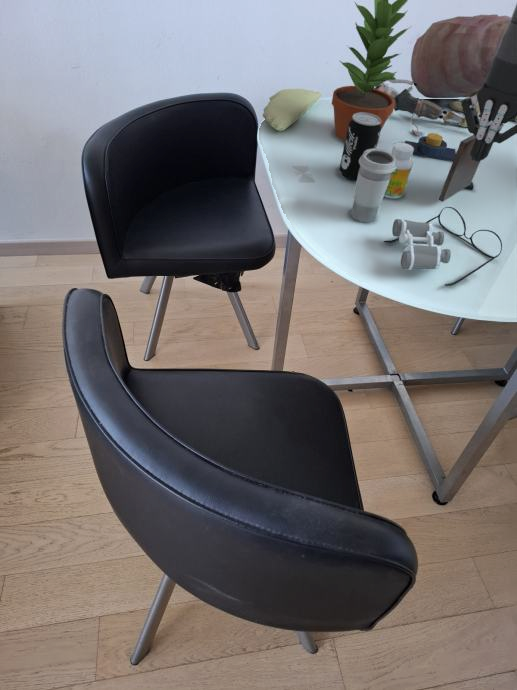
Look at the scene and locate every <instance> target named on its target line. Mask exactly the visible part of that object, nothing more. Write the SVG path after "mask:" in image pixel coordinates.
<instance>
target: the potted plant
mask: <svg viewBox="0 0 517 690" xmlns="http://www.w3.org/2000/svg"><path fill="white" fill-rule="evenodd" d="M353 1H354V0H353ZM407 2H408V0H395V1H393V3H390V2H389V0H374V2H373V4H374V16H373V14H372V13H371V11H370V10H369V9H368V8H366V7H365V6H363V5H359V4H358V3H357V2H356V1H354V4H355V6H356V8H357V10H358V11H359V13H360V15H361V16H362V17H363V19H364V20H363V26H361V25H359V24H358V23H357V22H356V21H355V29H356V31H357V33H358V35H359V36H358V37H360V40H361V42H362V45H363V46H364V49H365V51H366V58H365V57H364V56H363V55H362V54H361V53H360V52H359V51H358V50H357V49H356V48H354V47H352V46H347V48H348V49H349V50H350V51H351V52H352V54H353V55H354V56H355V57H356V58H357V60H358V61H359V62H360V63H361V64H362V65H363V67H364V68H365V69H366V71H365V72H364V71H363V70H362V69H361V68H359V67H358V66H356V65H355V64H354V63H351V62H348V61H347V62H344V61H342V60H339V62H340V63H341V65H342V66H343V67H345V68H346V69H347V72H348V74H349V76H350V77H349V78H350V79H351V81H352V84H353V85H346V86H345V85H344V86H340V87H337V88H336V89H334V91H333V93H332V98H331V105H332V106H333V121H334V135H335V136H336V138H337V139H339V140H341V141H343V142H345V139H346V135H347V130H348V125H349V122H350V121H351V120H352V117H353V115H354V114H356V113H361V112H363V113H370V114H374V115H376V116H378V117H379V118H380V119H381V123H380V125H381V130H382V129H383V127H384V126H385V124H386V122H387V120H388V118H389V116H391V115H392V114H393V112H394V106H395V100H394V99H393V98H392V96H390V95H388V94H387V93H385V92H382V91H380V90H377V89H374V88H375V87H376V86H377V85H379V84H381V83H385V82H387V81H388V82H389V81H390V80H395V79H397V78H396V77H395V76H396V73H398V71H395V72H391V71H385V70H387V69H389V68H392V67H393V65H392V64H390V63H391V62H392V60H391V59H394V58H396V57H397V56H399V55H401V53H394V54H392V55H388V56H385V55H387V53H388V49H389V48H390V47H391V46H392V45H393V44H394V43H395V42H396V41H397V40H398V39H399V38H400V37H401V36H402V35H404V34H405V33H406V32H407V31H408V30H409V29H410V28H412V26H413V25H411V26H409V27H407V28H404V29H403V30H400V31H399V32H397V33H395V34H394V35H391V34H392V33H393V32H394V30H395V29H394V28H393V27H395V26H396V24H398V22H400V21H401V20H402V19H403V18H404V17H405V16H406V14H407V12H409V9H407V10H406V11H404V12H399V11H400V10H401V9H402V8H403V6H404V5H406V3H407Z"/></svg>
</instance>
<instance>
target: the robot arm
mask: <svg viewBox="0 0 517 690" xmlns="http://www.w3.org/2000/svg"><path fill="white" fill-rule="evenodd" d="M510 17H511V20H510V22H509V24H508V26H507V28H506V30H505V32H504V34H503V36H502V38H501V41H500V44H499V46H498V49H497V51H496V54H495V57H494V59H493V62H492V64H491V67H490V70H489V72H488V75H487V77H486V80H485V83H484V85H483V87H482V88H481V89H480V90H479V91H478V93H477V95H474V96H469V97H465V98H464V99H463V100H461V101H462V102H461V104H462V108H463V112H462V113H463V116H464V117H465V119H466V123H467V127H466V128H467V130H468V132H469V133H470V134H472V135H475V136H476V140H475V143H474V145H473V148H472V150H471V156H472V160H474V161H477V162H480V163H481V161H484V160H485V159H486V158H487V157H488V156H489V154H490V152H491V149H492V147H493V144H494V143H497V144H502V143H503V142H505V141H507V140H509V139H510V138H512V137H513V136H515V135H517V120H516V121H515V125H513V126H511V127H510V128H509V129H507V130H505V131H504V132H501V130H502V128H503V127H504V125H505V124H507V123H508V122H510V121H511V120H513V119H515V118H516V116H517V3H516V4H515V7H514V10H513V12H512V15H511V16H510ZM478 104H479V109H480V113H481V115H480V116H481V117H482V118H481V117H480V118H481V121H480V122H479V119H480V118H478V114H477V110H476V107H477V106H478ZM491 124H492V125H491ZM489 130H490V131H489ZM486 136H487V137H486Z"/></svg>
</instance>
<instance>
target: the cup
mask: <svg viewBox="0 0 517 690" xmlns="http://www.w3.org/2000/svg"><path fill="white" fill-rule="evenodd" d="M395 161H396V158H395V156H394V155H393V154H392V152H390V151H389V150H385V149H382V148H376V149H368V150H366V151H364V153H363V155H362V156H361V157H360V159H359V164H360V168H359V172H358V177H357V181H356V182H355V188H354V194H353V203H352V208H351V213H350V215H351V217H352V218H353V219H354V220H356V221H358V222H360V223H371V222H374V221H375V219H376V217H377V213H378V211H379V209H380V206H381V204H382V202H383V199H384V198H385V197H384V194H385V191H386V189H387V186H388V183H389V181H390V178H391V173H392V172H393V171H395V169H396V162H395Z"/></svg>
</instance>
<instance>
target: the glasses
mask: <svg viewBox="0 0 517 690" xmlns="http://www.w3.org/2000/svg"><path fill="white" fill-rule="evenodd" d="M444 209H451V210H454V211H455V213H457V215H458V216H459V217H460V219H461V221H462V224H463V230H464V231H463V234H457V233H454V232H453V231H451V230H449V229H448V228H447V227H445V226H444V225H443V223H442V222H441V215H442V213H443V211H444ZM436 219H438V220H437V221H438V224H439V226H440V227H441V228H442V229H444V230H445V231H447V232H448V233H449V234H451V235H453V236H455V237H457V238H459V239H460V240H463V241H464V242H466V244H469V245H470V246H471V247H473V248H474V249H476V250H477V251H478V252H480V253H481V254H482V255H483V256H485V257H488V258H489V260H487V261H485V262H484V263H482V264H481V265H480V266H478V267H476V268H475V269H474V270H472V271H471V272H469V273H467V274H466V275H464V276H462V277H461V278H459V279H457V280H455V281H453V282H451V283H445V284H444V286H446V287H450V286H454V285H456V284H458V283H460V282H461V281H463V280H465V279H466V278H467V277H470V276H471V275H472V274H474V273H475V272H477V271H478V270H480V269H481V268H483V267H484V266H486V265H487V264H489V263H490V262H492V261H493V260H494V259H496V258H498V257H499V256H500V255H501V254H502V249H503V243H502V239H501V237H500V236H499V235H498V233H496V232H495V231H493V230H489V229H479V230H477V231H475V232H473V233H472V234H471V236H469V237H468V236H466V230H467V226H466V221H465V220H464V217H463V216H462V214H461V213H460V212H459V211H458V210H457V208H455V207H452V206H446V207H444V208H442V210H440V212H439V214H438V215H436V216H435V217H433V218H431V219H429V220H427V221H425V222H424V223H431V222H432V221H434V220H436ZM478 232H489V233H492V234H493V235H495V236H496V237H497V238H498V240H499V242H500V252H499V253H498V254H497V255H495V256H492V255H489V254H488V253H486V252H484V251H482V250H481V249H480V248H478V247H477V246H476V245H475V243H474V242H473V236H474V235H475V234H476V233H478ZM462 236H464V238H463V237H462ZM466 239H467V240H466ZM468 240H470V242H469V241H468ZM396 241H399V237H397V238H395V239H391V240H383V243H387V244H388V243H389V244H391V243H395V242H396Z"/></svg>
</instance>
